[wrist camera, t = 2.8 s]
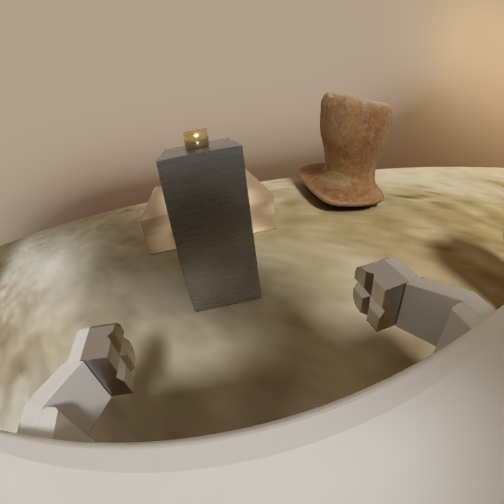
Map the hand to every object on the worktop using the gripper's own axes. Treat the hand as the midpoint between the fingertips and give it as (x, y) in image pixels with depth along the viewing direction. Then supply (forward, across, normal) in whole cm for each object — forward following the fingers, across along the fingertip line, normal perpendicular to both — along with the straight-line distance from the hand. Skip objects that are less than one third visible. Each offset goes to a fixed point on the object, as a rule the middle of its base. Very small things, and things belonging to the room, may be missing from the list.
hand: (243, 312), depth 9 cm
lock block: (+12, 0, +7) cm, 14 cm away
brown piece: (+27, -20, +7) cm, 34 cm away
